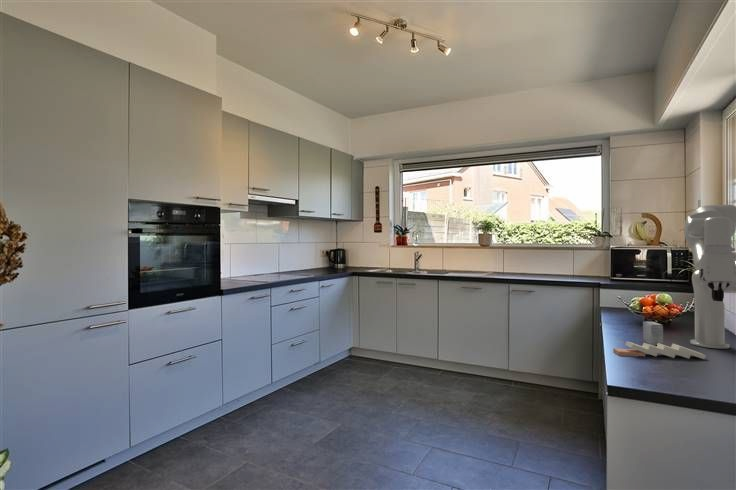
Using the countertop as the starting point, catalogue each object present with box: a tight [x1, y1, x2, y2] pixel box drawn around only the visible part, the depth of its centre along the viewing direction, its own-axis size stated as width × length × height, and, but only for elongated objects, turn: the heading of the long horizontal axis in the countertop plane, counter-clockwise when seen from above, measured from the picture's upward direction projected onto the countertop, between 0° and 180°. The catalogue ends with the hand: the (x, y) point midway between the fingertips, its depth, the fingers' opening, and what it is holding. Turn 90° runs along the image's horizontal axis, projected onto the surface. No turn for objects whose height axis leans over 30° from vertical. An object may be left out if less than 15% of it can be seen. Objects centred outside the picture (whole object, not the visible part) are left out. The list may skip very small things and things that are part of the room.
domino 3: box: [641, 342, 677, 359], centre depth 153 cm, size 2×5×9 cm
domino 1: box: [612, 348, 646, 357], centre depth 155 cm, size 2×5×9 cm
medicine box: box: [642, 321, 664, 346], centre depth 173 cm, size 8×4×9 cm, turn 168°
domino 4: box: [656, 343, 692, 360], centre depth 152 cm, size 2×5×9 cm
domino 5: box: [670, 343, 707, 360], centre depth 151 cm, size 2×5×9 cm
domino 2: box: [625, 340, 659, 357], centre depth 154 cm, size 2×5×9 cm
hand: (717, 300), depth 150 cm, fingers closed
